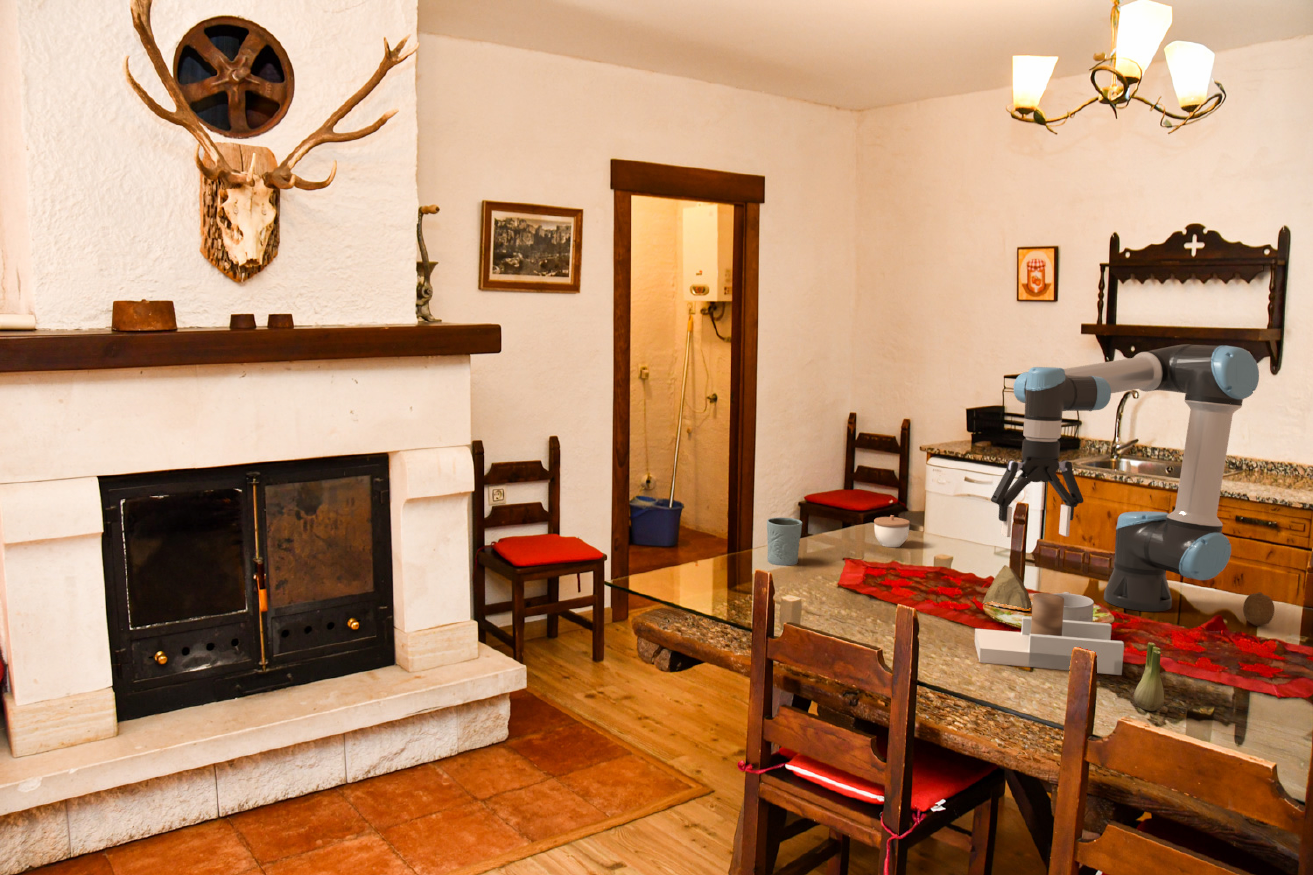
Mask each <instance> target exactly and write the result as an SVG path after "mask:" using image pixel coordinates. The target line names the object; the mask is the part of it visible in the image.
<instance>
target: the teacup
mask: <svg viewBox="0 0 1313 875" xmlns="http://www.w3.org/2000/svg"><path fill="white" fill-rule="evenodd" d="M1053 594H1054V595H1058V596H1061V597H1063V598H1064V610H1063V620H1070V621H1083V622H1094V621H1093V620H1094V604H1095V602H1094V600H1093V599H1092V598H1090V597H1088V596H1086V595H1085V596H1084V595H1083V594H1082V595H1081V594H1076V593H1070V592H1069V591H1063V592H1062V593H1060V592H1059V593H1058V592H1055V593H1053Z"/></svg>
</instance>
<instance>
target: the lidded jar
mask: <svg viewBox="0 0 1313 875" xmlns="http://www.w3.org/2000/svg"><path fill="white" fill-rule="evenodd" d="M910 523H911V522H910V520H908V519H905V518H901V517H896V516H895V515H892V514H890V516H880V517H876V518H875V519H874V520H873V524H874V527H873V528H874V536H875V538H876V541H878V542H879V543H880V546H882V547H886V548H900V547H902V545H903V544H904V543H905V542H906V541H907V539H908V537H909V531H910Z"/></svg>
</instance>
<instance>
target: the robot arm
mask: <svg viewBox="0 0 1313 875" xmlns="http://www.w3.org/2000/svg"><path fill="white" fill-rule="evenodd" d="M1259 380H1260V370H1259V365H1258V363H1257V360H1256V359H1255V358H1254V356H1253V355H1252V354H1251V352H1249V351H1248V350H1247V349H1244V348H1243V347H1238V346H1233V345H1210V344H1209V345H1207V344H1187V343H1186V344H1179V345H1178V344H1177V345H1172V346H1168V347H1161V348H1158V349H1152V350H1148V351H1141V352H1138V353H1137V354H1135V355H1134V356H1133V357H1132V358H1131V357H1129V358H1124V359H1118V360H1117V359H1116V360H1111V361H1105V362H1100V363H1093V364H1086V365H1080V366H1074V367H1067V368H1062V367H1056V366H1055V367H1053V366H1051V367H1049V366H1048V367H1047V366H1044V367H1043V366H1034V367H1031V368H1030V369H1028V371H1025V372H1022V373H1020V374H1019V375H1018V376H1017V377H1016V378H1015V380H1014V383H1013V388H1012V389H1013V394H1014V397H1015V398H1016V400H1017V401H1019V402H1020V403H1023V404H1024V419H1023V420H1024V421H1023V430H1022V431H1023V434H1022V435H1023V436H1024V437H1025V438H1024V439H1023V440H1022V444H1021V445H1022V447H1021V455H1022V456H1021V461H1020V462H1019V461H1014V460H1012V459H1011V460H1010V459H1009V460H1008V461H1007V464H1006V469H1005V472H1004V474H1003V476H1002V478H1001V479H1000V480H999V483H998V485H997V487H996V488H995V491H994V492H993V494H992V495H991V497H990V501H991V502H992V503H993V504H996V505H998V507H999V508H998V520H999V521H1001V529H1000V530H1001V531H1000V535H1001V536H1004V537H1005V538H1011V535H1012V534H1011V531H1012V518H1013V507H1012V506H1010V505H1011V504H1012V502H1013V501H1014V500H1015V499H1016V498H1017V497H1018V496H1019V494H1020V493H1021V492H1022V491H1024V489H1025V487H1027V485H1030V484H1031V482H1033V483H1039V482H1043V483H1048V482H1049V484H1050V485H1051V487H1052V488H1053V489H1054V490H1055V492H1056V493H1057V495H1058V496H1059V497H1060V499H1061V500H1062V501H1063V503H1064V504H1060V515H1059V516H1060V517H1059V526H1058V528H1059V529H1058V534H1059V535H1061V536H1063V537H1069V536H1070V528H1071V527H1070V526H1071V521H1073V520H1074V515H1075V514H1074V513H1075V508H1077V507H1078V506H1079V504H1083V503H1084V502H1085V499H1084V497H1083V495H1082V492H1081V490H1080V487H1079V484H1078V483H1077V480H1076V478H1075V475H1074V473H1073V463H1072V462H1071V461H1069V460H1065V459H1063V460H1061V461H1059V457H1060V448H1061V442H1060V441H1059V439H1060V438H1062V421H1063V412H1069V411H1070V412H1071V411H1072V412H1074V411H1075V412H1078V411H1079V412H1081V411H1082V412H1092V411H1099V410H1103V409H1105V408H1106V407H1107V406H1108V404H1109V403H1110V401H1111V399H1112V398H1111V397H1112V394H1116V393H1122V392H1128V391H1133V390H1139V391H1141V392H1146V393H1147V392H1153V391H1154V392H1155V391H1163V392H1173V393H1180V394H1185V396H1184V402H1185V404H1186V405H1187V406H1188V407H1189V410H1190V412H1189V416H1188V422H1187V423H1188V425H1187V431H1186V438H1185V442H1184V443H1185V444H1184V448H1183V449H1184V451H1183V456H1182V463H1181V470H1180V476H1179V482H1178V490H1177V494H1176V500H1175V509H1174V510H1173V511H1172V512H1170V513H1168V512H1163V511H1128V512H1123V513H1121V514H1120V515H1119V516H1118V518H1117V524H1116V527H1115V544H1114V564H1113V571H1112V573H1111V575H1110V577H1109V579H1108V581H1107V584H1106V585H1105V588H1104V594H1103V600H1104V601H1105V602H1106V603H1108V604H1110V605H1113V606H1116V607H1118V608H1121V609H1122V608H1123V609H1127V610H1133V611H1139V612H1164V611H1169V610H1170V609H1172V603H1173V601H1172V600H1173V598H1172V594H1171V591H1170V587H1169V583H1168V579H1167V572H1170V573H1173V574H1177V575H1180V576H1181V577H1184V578H1187V579H1193V580H1198V581H1207V580H1211V579H1214V578H1215V577H1217V576H1218V575H1219V574H1220V573H1221V572H1223V571H1224V570H1225V569H1226V566H1227V565H1228V563H1229V560H1230V558H1231V555H1232V544H1231V543H1230V540H1229V538H1228V537H1227V536H1226V535H1224V534H1223V533H1222V532H1223V528H1224V527H1223V525H1224V524H1223V522H1222V521H1221V520H1220V519H1219V518H1218V515H1217V514H1218V510H1219V505H1220V504H1219V502H1220V498H1221V497H1220V496H1221V489H1222V484H1223V477H1224V473H1225V472H1224V471H1225V467H1226V466H1225V465H1226V459H1227V454H1228V446H1229V440H1230V433H1231V428H1232V427H1231V426H1232V421H1233V415H1234V413H1235V412H1237V411H1238V410H1240V409H1242V407H1243V400H1244V399H1247V398H1249V397H1250V396H1252V395H1253V394H1254V391H1256V390H1257V388H1258V385H1259V382H1260V381H1259ZM1020 470H1021V471H1022V472H1021V473H1020V474H1019V475H1018V476H1017V478H1016V475H1017V473H1018V472H1019V471H1020ZM1058 470H1059V471H1060V472H1061V475H1062V477H1063V479H1064V482H1065V485H1066V487H1065V486H1064V485H1063V483H1062V482H1061V479H1060V477H1059V476H1058V475H1057V472H1058ZM1015 478H1016V480H1015ZM1014 480H1015V482H1014ZM1013 482H1014V483H1013ZM1066 488H1067V489H1068V490H1067V489H1066Z"/></svg>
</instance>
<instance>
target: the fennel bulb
mask: <svg viewBox="0 0 1313 875" xmlns="http://www.w3.org/2000/svg"><path fill="white" fill-rule="evenodd" d="M1161 651H1162V649H1161V648H1159V647H1157V645H1156V643H1154V642H1148V643H1147V647H1146V658H1145V667H1144V671H1143V674H1142V676H1141V680H1140V681H1139V682H1138V684H1137V686H1136V688H1135V690H1134V693H1133V699H1134V702H1135V703H1136V705H1137V707H1139V708H1140V709H1142V710H1145V711H1150V712H1155V711H1161V709H1162V708H1163V706H1164V702H1165V692H1164V687H1163V683H1162V679H1161V676H1160V675H1161V674H1160V668H1161V655H1162V652H1161Z"/></svg>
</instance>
